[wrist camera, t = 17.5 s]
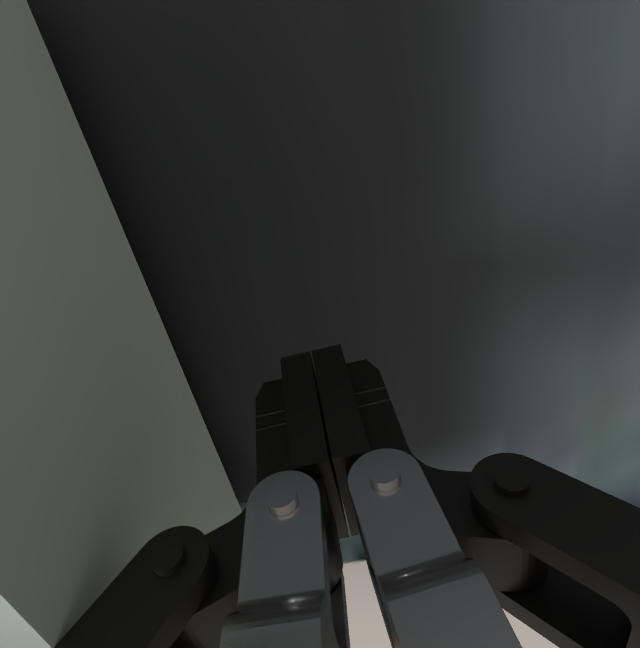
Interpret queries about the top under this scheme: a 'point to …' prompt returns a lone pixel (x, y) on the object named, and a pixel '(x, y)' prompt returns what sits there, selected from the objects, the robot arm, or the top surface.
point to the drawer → (79, 371)
